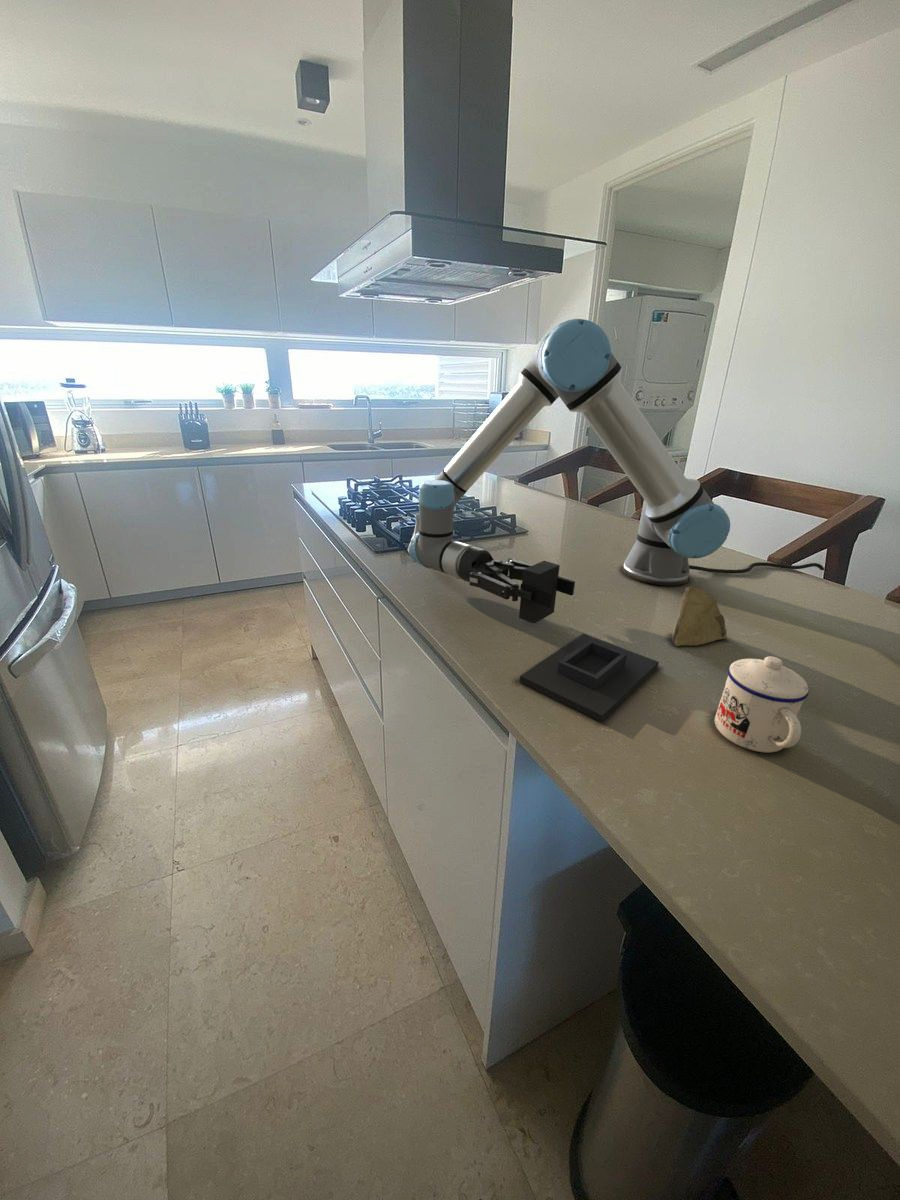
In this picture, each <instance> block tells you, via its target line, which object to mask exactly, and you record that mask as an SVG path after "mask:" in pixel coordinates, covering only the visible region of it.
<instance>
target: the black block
mask: <svg viewBox="0 0 900 1200" xmlns="http://www.w3.org/2000/svg"><path fill="white" fill-rule="evenodd" d="M559 573H560V564H559V563H558V564H557V563H554V562H550V561H547V560H543V561H539V562H537V563H535V564H534V565H533V566H530V567H528V568H525V569H523V578H522V580H521V584H522V583H525V584H528V585H531V586H534V587H537V588H540V589H543V590H546V591H549V592H552V593H553V598H552V607H550V608H548V607H545V606H543V605H540V604H537V603H534V602H531V601H529V600H526V599H523V598H520V601H519V614H518V618H519V619H520V620H523V621H525V622H529V623H531V624H537V623H538V622H540V621H542V620H543V619H545V618H547V617H549V616H550V615H553V614H554V613H555V606H556V599H557V592H558V591H557V583H558V576H559Z"/></svg>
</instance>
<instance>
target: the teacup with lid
mask: <svg viewBox="0 0 900 1200" xmlns="http://www.w3.org/2000/svg"><path fill="white" fill-rule="evenodd" d="M783 664H784V663H783V661H782V660H781V659H780V658H778V657H776V656H772V655H769V656H766V657H764V659H759V658H758V659H757V658H741V659H738V660H735V661H734V662H732V663H731V664H730V665H729V666H728V668H727V678H726V681H725V685H724V687H723V690H722V694H721V698H720V701H719V703H718V707H717V710H716V713H715V716H714V724H715V728H716V729H717V731H718V732H719V733H720V734H721V735H722V736H724V737H725V738H726V739H727V740H729V741H730V742H731V743H733V744H735V745H737V746H739V747H741V748H744V749H746V750H750V751H753V752H758V753H759V752H760V753H775V752H779V751H781V750H783V749H786V748H787V749H788V748H792V747H794V746H795V745H797V743H798V742H799V741H800V739H801V736H802V725H801V723H800V720H799V717H798V715H799V712H800V710H801V708H802V705H803V703H804V701H805V700H806V699H807V698H808V696H809V694H810V693H809V692H810V691H809V686H808V684H807V681H806V680H805V679H804V678H803V677H802V676H801V675H800V674H799V673H797V672H795V671H794V670H792V669H790V668H788V667H786V666H784V665H783Z"/></svg>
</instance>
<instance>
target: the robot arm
mask: <svg viewBox="0 0 900 1200" xmlns="http://www.w3.org/2000/svg"><path fill="white" fill-rule="evenodd" d="M622 374H623V367H622V366H621V364H620V363H619V361H618V360H617V358H616V356H615V355H614V354H613V352H612V347H611V344H610V339H609V337H608V335H607V334H606V332H605V331H604V329H603V328H602V327H601V326H600V325H598V324H597V323H596V322H594V321H592V320H588V319H585V318H584V319H583V318H573V319H568V320H565V321H563V322H561V323H559V324H558V325H556V327H554V328H553V329H552V330H551V331H550V332H549V333H548V334H547V335H546V336H544V338H543V339H542V341H541V342H540V344H539V345H538V347H537V349H536V351H535V353H534V354H533V355H532V357H531V358H530V360H529V361H528V363H527V364H526V365H525V367H524V368H523V369H522V370H521V371H520V373H518V382H517V384H516V385H514V387H513V388H512V389H511V391H509V393H508V394H507V395H506V396H505V397H504V398H503V400H502V401H501V402H500V403H499V404H498V405H497V407H496V408H495V409H493V411H492V412H491V414H490V415H489V416H488V417H487V418H486V419H485V420H484V421H483V423H482V424H481V425H480V426H479V428H478V429H477V430H476V431H475V433H474V434H473V435H472V436H471V437H470V438H469V439H468V440H467V442H466V443H465V444H463V446H462V448H460V450H459V451H458V452H457V453H456V454H455V455H454V457H453V458H452V459H451V460H450V462H449V463H448V464H447V465H446V466H445V467H444V468H443V470H442V471H441V472H440V473H439V475H438V476H436V478H435V479H430V480H425V481H423V482H421V483H420V484H419V490H418V498H417V499H418V515H419V525H420V529H419V533H417V534H415V535H414V536H413V535H412V536H413V538H412V537H411V539H410V542H411V544H410V543H409V545H408V547H409V552H408V554H409V556H410V558H411V560H412V561H413V562H414V563H417V564H418V565H420V566H422V567H424V568H426V569H432V570H435V571H438V572H441V573H443V574H446V575H448V576H452V577H454V578H455V579H457V580H462V581H464V582H466V583H469V586H471V587H475V588H479V589H481V590H484V591H486V592H488V593H491V594H492V595H494V596H497V597H499V598H502V599H503V600H509V599H510V597H511V601H512V602H518V601H519V599H521V598H523V599H526V600H529V601H531V602H534V603H537V604H540V605H543V606H545V607H548V608H550V607H552V598H553V593H552V592H549V591H546V590H543V589H540V588H537V587H534V586H531V585H528V584H525V583H522V582H521V583H518V582H516V581H522V578H523V569H525V568H528V567H530V566H533V565H535V564H534V563H529V562H525V561H521V560H518V559H516V558H513V557H508V558H507V561H502V560H501V559H494V558H493V555H492V554H491V552H490V551H488V550H487V549H483V548H480V547H477V546H473V545H471V544H467V543H464V542H461V541H458V540H454V539H453V538H454V515H455V514H454V513H455V507H456V505H457V503H458V502H459V501H460V500H461V499H462V498H463V497H464V496H465V495H466V494H467V492H468V491H469V490H470V489H471V487H473V485H474V484H475V483H476V482H477V481H478V480H479V478H481V476H482V475H483V474H484V473H485V472H486V471H488V469H489V468H490V466H492V465H493V463H494V462H495V461H496V459H498V458H499V457H500V455H502V453H503V452H504V451H505V450H506V449H507V448H508V447H509V446H510V444H511V443H512V442H513V441H514V440H515V439H516V438H517V437H518V436H519V435H520V434H521V432H522V431H523V430H524V429H525V428H526V427H527V426H528V424H529V423H530V422H531V421H532V420H533V419H535V417H536V416H537V415H538V414H539V412H541V410H542V409H543V408H545V407H551V406H552V405H554V403H555V401H557V399H558V398H559V399H560V400H561V401H562V402H563V404H564V405H565V407H566V408H567V409H568V411H569V412H571V413H580V414H582V416H583V417H584V418H585V420H586V421H587V423H588V424H589V425H590V427H591V428H592V429H593V431H594V432H595V434H596V435H597V436H598V438H599V439H600V441H601V442H602V444H603V445H604V446H605V448H606V449H607V450H608V451H609V453H610V454H611V456H612V457H613V459H614V460H615V461H616V463H617V464H618V465H619V467H620V468H621V470H622V471H623V473H624V474H625V475H626V477H627V478H628V479H629V481H630V482H631V483H632V484H633V486H634V487H635V488H636V490H637V492H638V493H639V494H640V496H641V497H642V499H643V503H642V507H641V514H640V519H639V525H638V530H637V535H636V539H635V543H634V544H633V546H632V548H631V550H630V552H628V555H627V557H626V559H625V560H624V562H623V566H622V567H623V568H622V571H623V573H624V574H625V575H626V576H628V577H629V578H631V579H633V580H636V581H638V582H641V583H646V584H650V585H656V586H679V585H683V584H685V583H687V582H688V581H689V577H690V570H694V571H701V572H707V573H716V574H745V573H748V572H750V571H751V570H752V569H753V568H754V567H772V568H778V569H787V570H804V569H807V568H813V567H815V568H818V569H819V570H820V571H825V570H826V569H825V567H824V566H823V565H822V564H820V563H817V562H810V563H805V564H800V565H799V564H798V565H790V564H783V563H782V564H781V563H775V562H765V561H761V562H759V561H758V562H753V563H751V564H749V565H748V566H747V567H746V568H739V569H723V568H712V567H704V566H700V565H699V566H698V565H692V564H689V559H702V558H704V557H707V556H710V555H712V554H714V553H715V552H716V551H718V550H719V549H720V548H721V547H722V546H723V545H724V543H725V542H726V541H727V539H728V536H729V534H730V531H731V519H730V517H729V515H728V513H727V512H726V510H725V509H724V508H722V506H721V505H719V504H717V503H716V504H715V503H714V501H713V500H712V498H711V497H710V495H709V494H708V493H707V492H706V490H705V488H704V487H703V485H702V484H701V482H700V481H699V479H695V478H687V477H686V476H685V474H684V473H683V471H682V470H681V469H680V467H679V465H678V464H677V463H676V461H675V460H674V458H673V457H672V455H671V454H670V453H669V450H668V449H667V448H666V447H665V445H664V443H663V442H662V441H661V439H660V438H659V437H658V435H657V433H656V431H654V429H653V428H652V426H651V425H650V423H649V421H648V420H647V419H646V417H645V415H644V414H643V413H642V411H641V410H640V408H639V407H638V405H637V404H636V403H635V401H634V400H633V398H632V397H631V395H630V394H629V392H628V391H627V390H626V388H625V386H624V385H623V383H622V382H621V377H622ZM514 580H516V581H514ZM575 584H576V581H575V580H572V579H569V578H565V577H562V576H559V575H558V583H557V591H556V592H559V593H562V594H565V595H568V596H570V597H571V596H573V595H574V592H575V586H576V585H575Z"/></svg>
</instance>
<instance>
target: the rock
mask: <svg viewBox="0 0 900 1200" xmlns="http://www.w3.org/2000/svg"><path fill="white" fill-rule="evenodd" d="M717 603H718V602H717V599H716V598H714V597H713V596H712V595H710V594H709V593H707V592H706V591H705V590H703V589H701V588H698V587H692V586H687V587H685V590H684V592H683V595H682V598H681V601H680V607H679V615H678V617H677V620H676V622H675V625H674V628H673V632H672V637H671V638H672V640H671V641H672V643H673V644H674V646H675V647H680V646H691V647H692V646H695V647H696V646H701V645H705V644H708V643H713V642H715V641H718V640H719V641H720V640H725V639H727V637H728V635H727V631H728V630H727V628H726V621H725V617H724V615H723V614H722V613H721V610H720V608H719V606H718V604H717Z"/></svg>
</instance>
